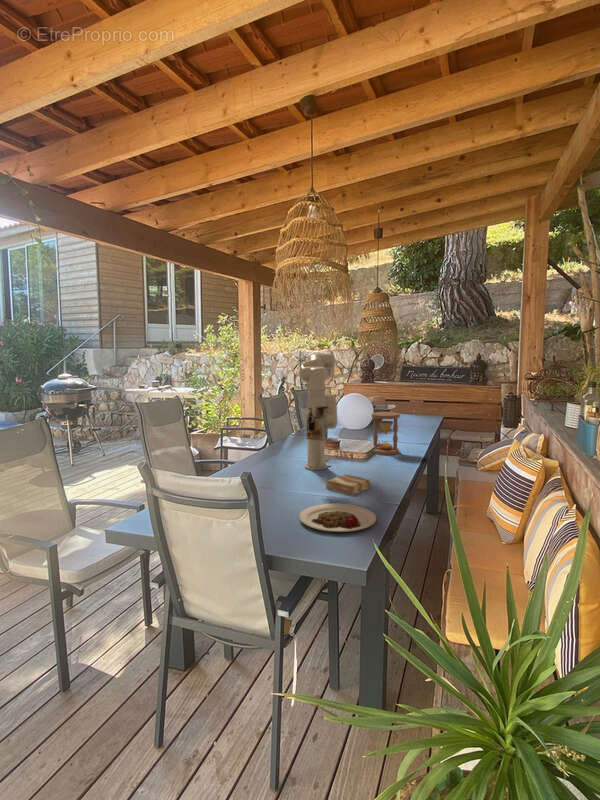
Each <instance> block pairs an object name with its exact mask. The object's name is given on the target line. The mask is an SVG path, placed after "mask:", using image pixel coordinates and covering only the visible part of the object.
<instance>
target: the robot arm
mask: <svg viewBox="0 0 600 800" xmlns="http://www.w3.org/2000/svg"><path fill="white" fill-rule="evenodd" d="M335 364H336V360H335V357H334V355H333V354H331V353H314V354H311V355H310V356H309V357H308V360H307V361H306V362H303V363H301V365H300V367H299V379H300V381H302V382H305V384H306V387H307V401H306V402H307V404H306V413H305V414H304V416H305V423H306V424H305V425H306V426H307V420H308V422H309V430H312V431H314V419H315V417H317V408H321V407H328V430H330V429H331V430H332V429H336V428H337V426H338V406H337V405H338V404H337V398H336V396H335V395H334V394H328V393H327V394H326V383H325V382H326V381H327V379H331V378H333V377H334V374H335V367H336V366H335ZM311 412H312V414H313V416H311V414H310V413H311ZM309 415H310V416H309ZM311 417H312V419H311ZM329 462H330V459H329V458H328V457H327V458H325V440H324V441H318V440H308V439H307V463H306V464H305V465H304V468H305V469H306V470H309V471H310V470H312V471H322V470H326V469H328V465H327V464H326V463H329Z"/></svg>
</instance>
